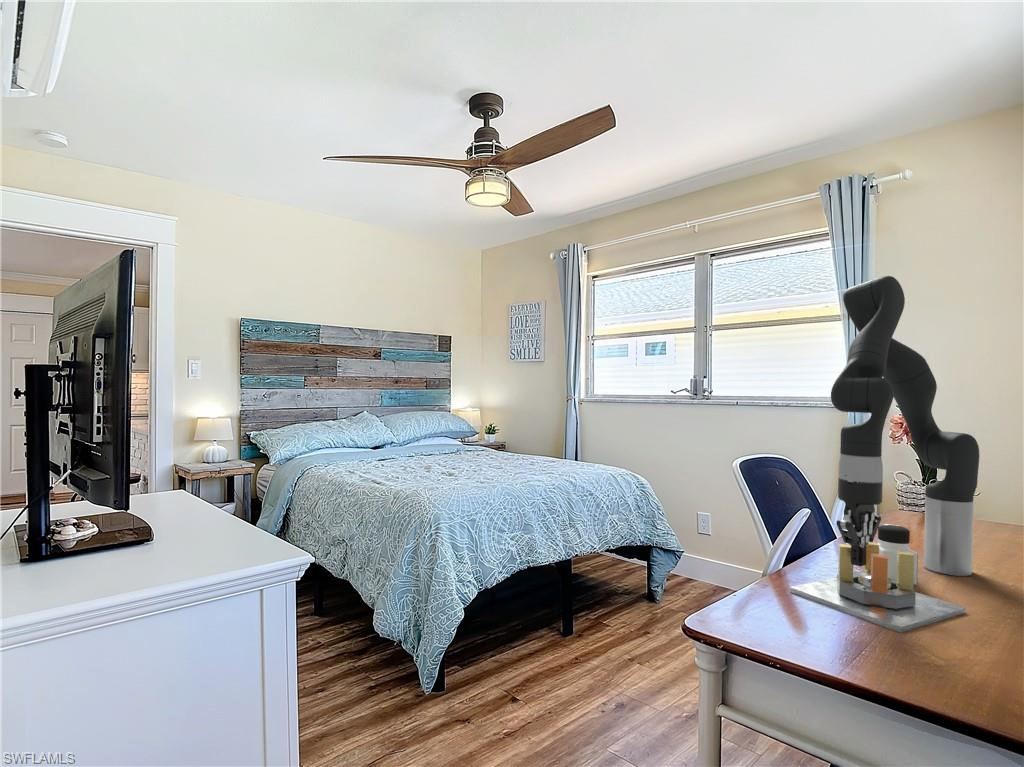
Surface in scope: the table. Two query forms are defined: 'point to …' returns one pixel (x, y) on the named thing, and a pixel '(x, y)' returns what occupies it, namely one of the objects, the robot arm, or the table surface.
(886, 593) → the octagonal frame
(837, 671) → the table surface
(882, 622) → the base plate
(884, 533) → the medicine bottle
